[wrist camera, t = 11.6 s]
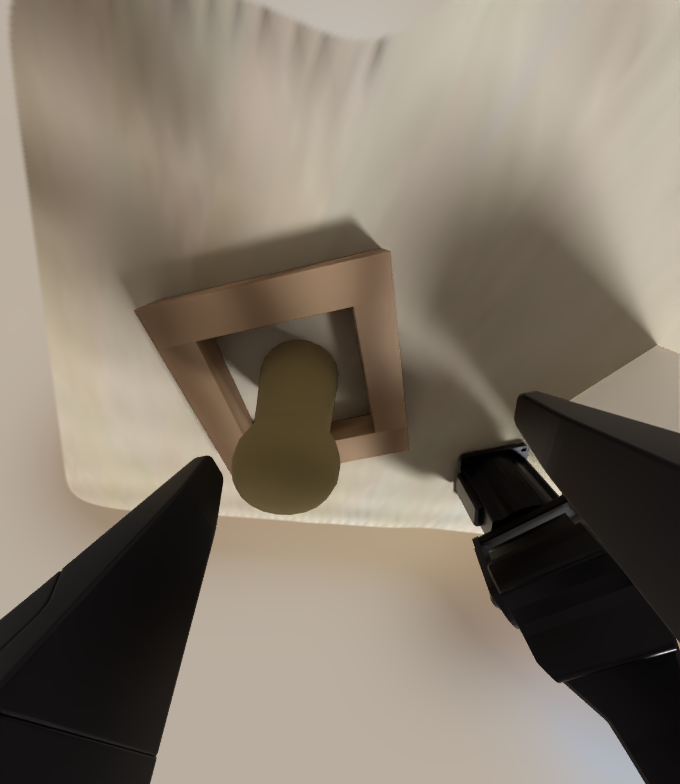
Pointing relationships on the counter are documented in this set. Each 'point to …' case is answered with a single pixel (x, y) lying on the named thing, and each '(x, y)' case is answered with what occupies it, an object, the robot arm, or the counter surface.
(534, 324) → the counter surface
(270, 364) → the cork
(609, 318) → the counter surface
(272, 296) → the socket block
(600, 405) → the milk
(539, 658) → the robot arm
